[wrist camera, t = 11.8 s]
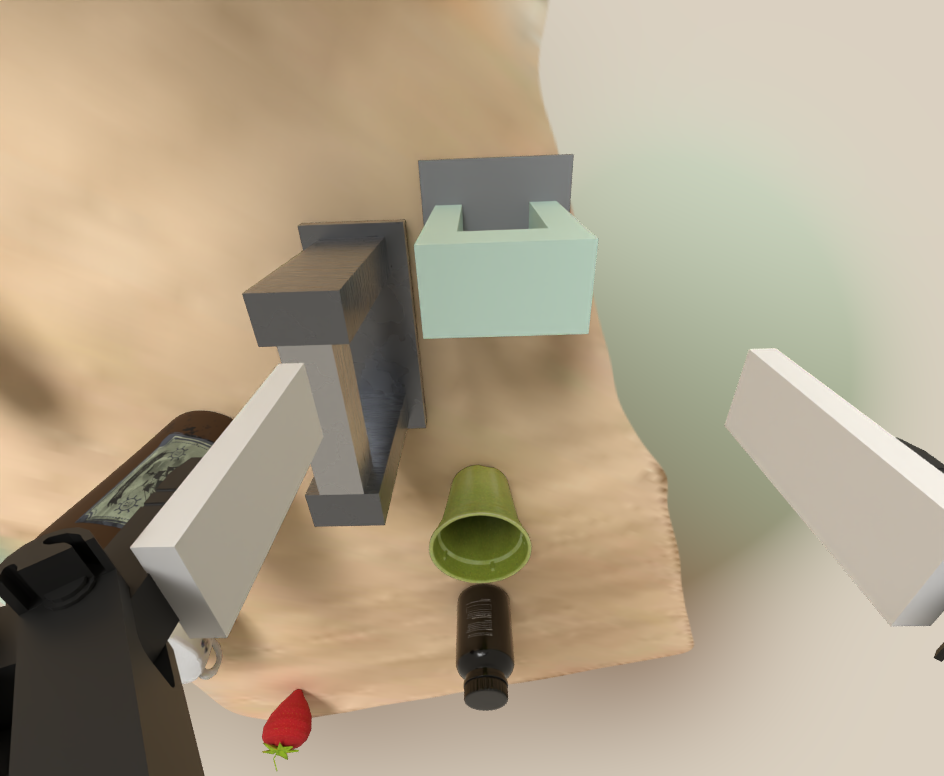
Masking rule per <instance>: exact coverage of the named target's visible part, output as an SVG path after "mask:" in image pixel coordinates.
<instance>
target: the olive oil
mask: <svg viewBox="0 0 944 776" xmlns="http://www.w3.org/2000/svg"><path fill="white" fill-rule="evenodd" d="M232 421H233V419H231V418H229V417H227V416H225V415H222V414H219V413H215V412H210V411H192V412H187V413H184V414H182V415H180V416H178V417H176V418H175V419H174V420H173V421H171V422H170V423H169V424H168V425H167V426H166V427H165V428H163V429H162V430H161V431H160V432H159V433H158V434H157V435H156V436H155V437H153V438H152V439H151V440H150V441H149V442H148V443H147V444H146V445H144V446H143V447H142V448H141V449H140V450H139V451H138V452H137V453H135V454H134V455H133V456H132V457H131V458H130V459H128V460H127V461H126V462H125V463H124V464H123V465H121V466H120V467H119V468H118V469H117V470H116V471H114V472H113V473H112V474H111V475H110V476H108V477H107V478H106V479H105V480H104V481H103V482H101V483H100V484H99V485H98V486H97V487H96V488H94V489H93V490H92V491H91V492H90V493H89V494H87V495H86V496H85V497H84V498H83V499H81V500H80V501H79V502H78V503H77V504H75V505H74V506H73V507H72V508H71V509H69V510H68V511H67V512H66V513H65V514H63V515H62V516H61V517H60V518H59V519H57V520H56V521H55V522H54V523H53V524H52V525H50V526H49V527H48V528H47V529H46V530H44V531H43V532H42V533H41V534H40V535H39V536H38V537H37V538H39V537H41V536H43V535H45V534H48V533H51V532H54V531H58V530H61V529H66V528H75V527H80V528H83V529H87V530H90V532H91V533H92V535H93V536H94V537H95V539H96V540H97V542H98V543H99V544H100V546H101V547H102V549H104V548H105V547H106V546H107V545H108V544H109V542H110V541H111V540H112V539H113V538H114V537H115V536H116V534H117V533H118V532H119V531H120V530H121V529H122V527H123V526H124V525H125V524H126V523H127V522H128V521H129V519H130V518H131V517H132V516H133V515H134V514H135V512H136V511H137V510H138V509H139V508H140V507H143V506H144V502H145V501H146V500H147V499H148V497H149V496H150V495H151V494H152V493H153V492H156V488H157V487H158V486H159V485H160V484H161V483H162V481H163V480H164V479H165V478H166V477H167V476H168V474H169V473H170V472H171V471H173V470H174V469H176V468H177V467H179V466H180V465H181V464H183V463H184V462H186V461H187V460H188V459H190V458H191V457H204V455H205V454H206V453H207V452H208V450H209V449H210V448H211V447H212V445H213V444H214V443H215V442H216V440H217V439H218V438H219V437H220V436H221V434H222V433H223V432H224V431H225V429H226V428H227V427H228V426H229V424H230V423H231V422H232ZM37 538H36V539H37ZM6 605H8V604H7V603H6Z"/></svg>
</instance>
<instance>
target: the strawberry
mask: <svg viewBox="0 0 944 776" xmlns="http://www.w3.org/2000/svg"><path fill="white" fill-rule="evenodd" d="M311 719H312V716H311V712H310V709H309V706H308V703H307V701H306V699H305V697H304V695H303V692H302V690H300V689H297V690H295V691H294V692H293V693H292V694H291V695H290V696H289V697H287V698H286V699H285V700H284V701H283V702H282V703H281V704H280V705H279V706H278V707H277V708H276V710H275V711H274V712H273V713H272V714H271V716H270V717H269V719H268V721H267V722H266V724H265V726H264V728H263V734H262V739H263V741H264V743H263V744H264V745H265V746H266V747H267V748H269V749H270V750H267V751H263V753H269V754H274V753H276V755H279V756H281V757H283V758H285V759H287V760H288V756H287V754H286V753H291V752H298V751H299V750H294V749H295V748H298V747H299V746H301V745H302V744H303V743H304V742H305V741H306V740H307V738H308V736H309V734H310V731H311ZM274 758H275V757H274ZM274 763H275V760H274ZM275 767H276V764H275ZM276 770H277V768H276Z"/></svg>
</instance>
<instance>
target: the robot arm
mask: <svg viewBox="0 0 944 776" xmlns="http://www.w3.org/2000/svg"><path fill="white" fill-rule="evenodd" d="M725 427H726V428H727V429H728V430H729V432H730V433H731V434H732V435H733V436H734V438H735V439H736V440H737V441H738V443H739V444H740V445H741V446H742V447H743V448H744V450H745V451H746V452H747V453H748V455H749V456H750V457H751V458H752V459H753V461H754V462H755V463H756V464H757V465H758V467H759V468H760V469H761V470H762V471H763V473H764V474H765V475H766V476H767V478H768V479H769V480H770V481H771V482H772V484H773V485H774V486H775V487H776V488H777V490H778V491H779V492H780V493H781V494H782V496H783V497H784V498H785V499H786V500H787V502H788V503H789V504H790V505H791V506H792V508H793V509H794V510H795V511H796V513H797V514H798V515H799V516H800V517H801V519H802V520H803V521H804V522H805V523H806V525H807V526H808V527H809V528H810V529H811V531H812V532H813V533H814V534H815V536H816V537H817V538H818V539H819V540H820V542H821V543H822V544H823V545H824V546H825V548H826V549H827V550H828V551H829V552H830V554H831V555H832V556H833V557H834V558H835V560H836V561H837V562H838V563H839V565H840V566H841V567H842V568H843V569H844V571H845V572H846V573H847V574H848V575H849V576H850V578H851V579H852V580H853V581H854V583H855V584H856V585H857V586H858V587H859V589H860V590H861V591H862V592H863V594H864V595H865V596H866V597H867V598H868V600H869V601H870V602H871V603H872V604H873V606H874V607H875V608H876V609H877V610H878V612H879V613H880V614H881V615H882V616H883V618H884V619H885V620H886V621H887V623H888V624H889V625H890V626H931V625H932V624H933V623H934V621H935V620H936V619H937V618H938V617H939V616H940V615H941V613H942V612H943V611H944V464H942V463H941V462H940V461H938V460H937V459H935V458H934V457H933V456H931V455H930V454H928V453H927V452H926V451H924V450H922V449H920V448H918V447H916V446H913V445H912V444H909V443H908V442H906V441H903V440H901V439H899V438H896V437H894V436H892V435H891V434H890V433H888V432H887V431H886V430H884V429H883V428H882V427H880V426H879V425H878V424H876V423H875V422H874V421H872V420H871V419H870V418H868V417H867V416H866V415H864V414H863V413H862V412H860V411H859V410H858V409H856V408H855V407H854V406H852V405H851V404H849V403H848V402H847V401H846V400H844V399H843V398H841V397H840V396H839V395H838V394H836V393H835V392H833V391H832V390H831V389H829V388H828V387H827V386H826V385H824V384H823V383H821V382H820V381H819V380H817V379H816V378H815V377H813V376H812V375H811V374H809V373H808V372H807V371H805V370H804V369H803V368H801V367H800V366H799V365H797V364H796V363H795V362H793V361H792V360H791V359H789V358H788V357H787V356H785V355H784V354H783V353H781V352H780V351H778V350H777V349H776V348H769V349H749V351H748V354H747V357H746V360H745V364H744V367H743V370H742V373H741V376H740V379H739V382H738V385H737V389H736V391H735V394H734V398H733V401H732V404H731V407H730V410H729V413H728V416H727V419H726V422H725ZM323 437H324V436H323V433H322V429H321V425H320V421H319V418H318V414H317V410H316V406H315V403H314V399H313V395H312V391H311V387H310V384H309V380H308V376H307V372H306V369H305V365H304V363H284V364H278V365H277V366H276V368H275V369H274V370H273V371H272V372H271V374H270V375H269V376H268V377H267V379H266V380H265V381H264V382H263V384H262V385H261V386H260V387H259V389H258V390H257V391H256V392H255V393H254V395H253V396H252V397H251V398H250V400H249V401H248V402H247V403H246V405H245V406H244V407H243V408H242V410H241V411H240V412H239V413H238V415H237V416H236V417H235V418H234V419H233V421H232V422H231V423H230V424H229V426H228V427H227V428H226V429H225V431H224V432H223V433H222V434H221V436H220V437H219V438H218V439H217V440H216V442H215V443H214V444H213V445H212V447H211V448H210V449H209V450H208V452H207V453H206V454H205V455H204V457H191V458H190V459H188V460H187V461H186V462H184V463H183V464H181V465H180V466H179V467H177V468H176V469H174V470H173V471H171V472H170V473H169V474H168V476H167V477H166V478H165V479H164V480H163V481H162V483H161V484H160V485H159V486H158V487H157V488H156V492H153V493H152V494H151V495H150V496H149V497H148V499H147V500H146V501H145V502H144V506H143V507H140V508H139V509H138V510H137V511H136V512H135V514H134V515H133V516H132V517H131V518H130V519H129V521H128V522H127V523H126V524H125V525H124V526H123V527H122V529H121V530H120V531H119V532H118V533H117V534H116V536H115V537H114V538H113V539H112V540H111V541H110V542H109V544H108V545H107V546H106V547H105V548H104V549H102V547H101V546H100V544H99V543H98V542H97V540H96V539H95V537H94V536H93V535H92V533H91V532H90V530H87V529H83V528H80V527H75V528H66V529H61V530H58V531H54V532H51V533H48V534H45V535H43V536H41V537H39V538H37V539H35V540H33V541H31V542H29V543H27V544H25V545H23V546H22V547H21V548H19V549H18V550H17V551H15V552H14V553H12V554H11V555H10V556H8V557H7V558H6V559H5V560H4V561H3V562H2V563H1V564H0V597H1V598H2V599H3V600H4V601H5V602H6V603H7V604H8V605H6V606H3V607H0V776H204V771H203V767H202V763H201V759H200V756H199V751H198V747H197V743H196V739H195V735H194V731H193V727H192V723H191V719H190V714H189V711H188V707H187V702H186V698H185V694H184V690H183V686H182V682H181V678H180V674H179V670H178V666H177V662H176V657H175V653H174V649H173V648H172V646H171V645H170V643H169V642H168V639H169V638H170V636H171V634H172V632H173V631H174V629H175V627H176V626H177V624H178V622H179V623H180V625H181V626H182V628H183V629H184V631H185V632H186V634H187V635H188V637H189V638H190V639H195V638H227V637H228V635H229V633H230V631H231V629H232V627H233V625H234V623H235V621H236V618H237V616H238V614H239V612H240V610H241V608H242V606H243V604H244V602H245V600H246V598H247V595H248V593H249V591H250V589H251V587H252V585H253V583H254V581H255V579H256V577H257V575H258V572H259V570H260V568H261V566H262V564H263V562H264V560H265V558H266V556H267V554H268V552H269V549H270V547H271V545H272V543H273V541H274V539H275V537H276V535H277V533H278V531H279V529H280V526H281V524H282V522H283V520H284V518H285V516H286V514H287V512H288V510H289V508H290V506H291V503H292V501H293V499H294V497H295V495H296V493H297V491H298V489H299V487H300V485H301V483H302V480H303V478H304V476H305V474H306V472H307V470H308V468H309V466H310V464H311V462H312V460H313V457H314V455H315V453H316V451H317V449H318V447H319V445H320V443H321V441H322V439H323ZM934 658H935V659H937V660H939V661H941V662H942V661H943V660H944V643H943V644H942V645H941V646H940V647H939V648H938V649H937V650H936V653H935V656H934Z"/></svg>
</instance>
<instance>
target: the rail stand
mask: <svg viewBox="0 0 944 776" xmlns="http://www.w3.org/2000/svg"><path fill="white" fill-rule="evenodd" d="M298 230H299V234H300V239H301V243H302V247H303V251H302V252H301V253H299V254H298V255H296V256H295V257H293V258H292V259H291V260H289V261H288V262H286V263H285V264H283V265H282V266H281V267H279V268H278V269H276V270H275V271H273V272H272V273H271V274H269V275H268V276H266V277H265V278H264V279H262V280H261V281H259V282H258V283H256V284H255V285H254V286H252V287H251V288H249V289H248V290H246V291H245V292H244V293H242V295H243V298H244V301H245V304H246V308H247V311H248V314H249V317H250V321H251V324H252V327H253V330H254V333H255V337H256V340H257V343H258V346H259V347H271V346H277V349H278V352H279V356H280V359H281V363H282V364H284V363H304V365H305V369H306V372H307V376H308V380H309V384H310V387H311V391H312V395H313V399H314V403H315V406H316V410H317V414H318V418H319V421H320V425H321V429H322V433H323V436H324V437H323V439H322V441H321V443H320V445H319V447H318V449H317V451H316V453H315V455H314V457H313V460H312V462H311V467H312V470H313V474H314V477H313V479H312V481H311V484H310V486H309V488H308V490H307V492H306V494H305V497H306V500H307V503H308V507H309V510H310V513H311V516H312V519H313V523H314V526H315V527H317V526H369V525H385V523H386V518H387V514H388V510H389V505H390V501H391V497H392V492H393V488H394V484H395V479H396V475H397V471H398V466H399V462H400V458H401V453H402V449H403V445H404V440H405V436H406V432H407V428H426V423H427V420H426V411H425V401H424V392H423V383H422V374H421V364H420V355H419V346H418V337H417V327H416V318H415V309H414V300H413V290H412V281H411V272H410V263H409V253H408V244H407V235H406V226H405V220H379V221H352V222H325V223H302V224H300V225H298Z"/></svg>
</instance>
